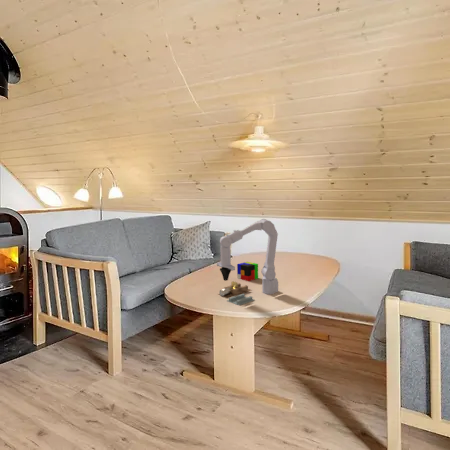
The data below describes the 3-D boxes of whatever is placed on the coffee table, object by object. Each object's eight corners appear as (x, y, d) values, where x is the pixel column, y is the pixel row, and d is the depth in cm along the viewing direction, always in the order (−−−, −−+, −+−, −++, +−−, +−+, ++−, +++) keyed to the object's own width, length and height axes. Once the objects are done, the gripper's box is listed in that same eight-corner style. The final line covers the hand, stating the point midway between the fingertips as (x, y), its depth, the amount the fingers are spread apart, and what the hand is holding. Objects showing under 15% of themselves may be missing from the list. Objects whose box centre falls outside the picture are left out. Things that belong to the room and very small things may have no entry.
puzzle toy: (237, 278, 252) (237, 264, 251) (247, 275, 259) (247, 261, 258) (247, 281, 245) (247, 266, 244) (258, 278, 252) (258, 263, 251)
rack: (242, 297, 212) (242, 293, 212) (254, 301, 205) (254, 297, 205) (226, 302, 205) (226, 297, 204) (239, 306, 197) (239, 302, 197)
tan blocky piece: (233, 291, 221) (233, 281, 220) (237, 292, 218) (237, 282, 218) (229, 292, 219) (229, 282, 218) (233, 293, 217) (233, 283, 216)
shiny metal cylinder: (229, 292, 219) (229, 286, 219) (233, 293, 216) (233, 287, 216) (219, 295, 214) (219, 289, 214) (223, 296, 211) (223, 290, 211)
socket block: (241, 288, 230) (241, 282, 229) (252, 291, 223) (252, 285, 222) (217, 295, 216) (217, 288, 216) (227, 299, 210) (227, 292, 209)
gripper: (212, 256, 215) (212, 278, 217) (227, 260, 204) (228, 284, 206) (222, 254, 220) (222, 276, 221) (237, 258, 208) (237, 281, 210)
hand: (225, 280), depth 214 cm, fingers closed
